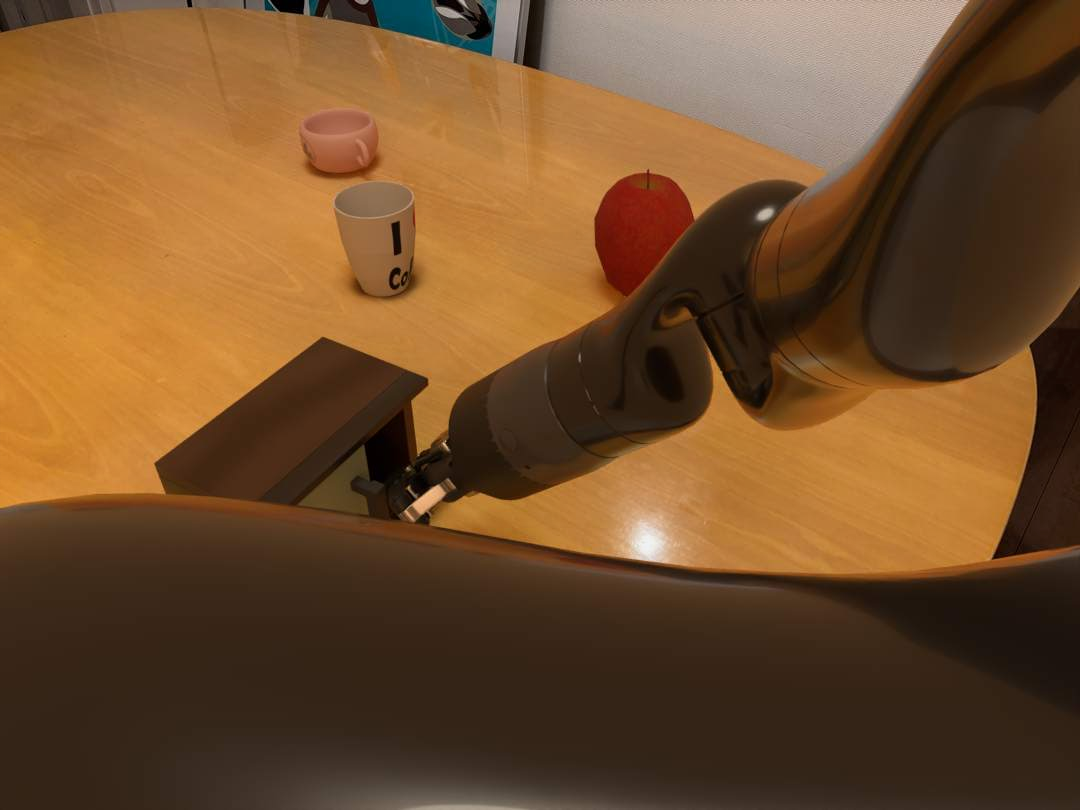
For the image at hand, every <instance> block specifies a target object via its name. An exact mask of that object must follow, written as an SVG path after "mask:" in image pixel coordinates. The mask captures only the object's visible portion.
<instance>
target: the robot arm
mask: <svg viewBox="0 0 1080 810" xmlns="http://www.w3.org/2000/svg"><path fill="white" fill-rule="evenodd" d="M1079 289H1080V0H968V1H967V2H966V4H965V5H964V6H963V8H962V9H960V11H959V13H958V14H957V15H956V17H954V19H953V21H952V22H951V23H950V25H949V26H948V27H947V29H946V31H945V32H944V33H943V35H942V36H941V37H940V39H939V40H938V42H937V43H936V45H934V47H933V48H932V50H931V51H930V52H929V54H928V56H927V57H926V58H925V60H924V61H923V62H922V64H921V65H920V67H919V68H918V70H917V71H916V73H915V74H914V76H913V78H912V80H911V81H910V82H909V84H908V85H907V87H906V88H905V89H904V91H903V92H902V94H901V95H900V97H898V100H897V101H896V103H895V104H894V105H893V107H892V108H891V110H890V111H889V113H888V114H887V115H886V117H885V118H884V120H883V121H882V123H880V125H879V126H878V128H877V129H876V130H875V131H874V133H873V134H872V135H871V136H870V137H869V138H868V139H867V140H866V141H865V142H864V143H863V144H862V145H861V147H859V148H858V149H857V150H856V151H855V152H854V153H853V154H852V155H851V156H850V157H848V158H847V159H846V160H845V161H843V162H841V163H840V164H839V165H837V166H836V167H834V168H833V169H832V170H831V171H828V172H827V173H826V174H825V175H823V177H821V178H819V179H818V180H816V181H815V182H814V183H813V184H811V185H810V186H808V185H807V184H805V183H802V182H800V181H795V180H790V179H784V178H768V179H759V180H758V181H757V180H756V181H752V182H750V183H746V184H744V185H742V186H739V187H737V188H734V189H733V190H731V191H729V192H728V193H726V194H724V195H723V196H721V197H720V198H718V199H717V200H716V201H714V202H713V203H711V204H710V205H709V206H708V207H707V208H705V210H703V211H702V212H701V213H700V214H699V215H698V216H697V218H695V221H694V222H693V223H692V224H691V225H690V226H689V227H688V228H687V229H686V230H685V231H684V232H683V233H682V234H681V236H680V237H679V238H678V239H677V240H676V242H675V243H674V244H673V245H672V246H671V248H670V249H669V250H668V251H667V253H666V254H665V255H664V256H663V258H662V259H661V260H660V261H659V263H658V264H657V265H656V266H655V268H654V269H653V270H652V271H651V272H650V274H649V275H648V276H647V277H646V278H645V279H644V280H643V282H642V283H641V284H640V285H639V286H638V287H637V288H636V289H635V290H634V291H633V292H632V293H631V294H630V295H629V296H628V297H625V298H624V299H623V300H621V301H620V302H619V303H618V304H617V305H615V306H613V307H612V308H610V310H608V311H606V312H604V313H602V314H601V315H599V316H598V317H596V318H595V319H592V320H591V321H589V322H587V323H586V324H584V325H582V326H580V327H578V328H576V329H575V330H572V331H571V332H569V333H568V334H566V335H565V336H562V337H559V338H557V339H554V340H551V341H548V342H545V343H543V344H540V345H539V346H536V347H534V348H533V349H531V350H529V351H527V352H525V353H523V354H522V355H520V356H519V357H517V358H515V359H513V360H512V361H510V362H508V363H507V364H505V365H503V366H501V367H499V368H498V369H496V370H495V371H492V372H491V373H489V374H487V375H486V376H484V377H483V378H480V379H479V380H477V381H475V382H473V383H472V384H470V385H469V386H468V387H466V388H465V389H464V390H463V391H462V392H461V393H460V394H459V395H458V396H457V398H456V399H455V401H454V402H453V405H452V407H451V410H450V412H449V413H450V414H449V417H448V418H449V419H448V429H446V430H445V431H443V432H441V433H440V434H439V435H438V436H437V437H436V438H435V439H434V441H432V442H431V443H430V447H429V448H426V449H424V450H422V451H421V452H419V453H418V457H417V458H416V459H415V460H414V461H413V462H411V463H409V464H407V465H405V466H403V467H401V468H399V469H397V470H395V471H394V472H393V473H392V474H391V475H390V476H389V477H388V478H386V479H385V480H384V481H383V482H382V484H384V485H385V490H386V497H387V499H388V500H389V506H390V507H391V508H392V510H393V511H394V512H395V513H396V514H397V515H398V517H399V518H400V519H401V520H402V521H401V520H395V519H389V518H383V517H377V516H371V515H365V514H359V513H353V512H347V511H340V510H332V509H324V508H315V507H307V506H299V505H291V504H282V503H274V502H266V501H258V500H249V499H239V498H223V497H207V496H191V495H174V494H166V493H158V492H157V493H155V492H128V493H127V492H125V493H121V492H119V493H118V492H117V493H93V494H92V493H91V494H85V495H77V496H69V497H68V496H67V497H61V498H51V499H44V500H36V501H28V502H22V503H17V504H11V505H8V506H3V507H0V810H1080V543H1077V544H1073V545H1069V546H1062V547H1058V548H1052V549H1051V548H1050V549H1046V550H1045V549H1044V550H1040V551H1036V552H1035V551H1034V552H1028V553H1024V554H1023V553H1021V554H1017V555H1012V556H1005V557H999V558H994V559H988V560H984V561H978V562H972V563H965V564H959V565H957V564H956V565H950V566H943V567H935V568H926V569H919V570H902V571H901V570H899V571H898V570H897V571H896V570H895V571H878V572H855V573H817V572H792V571H791V572H790V571H789V572H788V571H765V570H749V569H735V568H733V569H732V568H718V567H716V568H715V567H701V566H688V565H681V564H673V563H666V562H657V561H652V560H651V561H650V560H643V559H636V558H635V559H634V558H628V557H619V556H613V555H605V554H599V553H598V554H597V553H590V552H583V551H577V550H571V549H565V548H560V547H555V546H550V545H543V544H538V543H532V542H527V541H526V542H525V541H520V540H515V539H508V538H504V537H498V536H491V535H486V534H482V533H476V532H475V533H474V532H470V531H464V530H459V529H452V528H447V527H442V526H437V525H436V526H435V525H430V524H431V520H430V519H432V518H433V517H434V516H435V512H434V510H433V508H434V507H435V506H436V505H437V504H438V503H439V502H443V503H446V504H452V503H456V502H457V501H459V500H461V499H462V498H464V497H466V498H471V497H472V498H473V497H474V496H477V495H479V494H481V495H482V494H483V495H485V496H488V497H491V498H494V499H497V500H502V501H518V500H522V499H525V498H528V497H531V496H533V495H536V494H538V493H541V492H544V491H546V490H549V489H552V488H554V487H557V486H559V485H562V484H565V483H567V482H570V481H572V480H575V479H578V478H580V477H584V476H586V475H588V474H592V473H593V472H596V471H597V470H600V469H602V468H603V467H605V466H607V465H609V464H611V463H612V462H614V461H615V460H617V459H618V458H620V457H623V456H625V455H627V454H630V453H633V452H635V451H638V450H640V449H643V448H645V447H648V446H650V445H651V446H652V445H653V444H656V443H659V442H662V441H664V440H667V439H669V438H672V437H674V436H677V435H679V434H682V433H683V432H685V431H687V430H688V429H690V428H691V427H693V426H695V425H696V424H697V423H698V422H700V421H701V419H702V418H703V417H704V416H705V415H706V413H707V412H708V410H709V407H710V405H711V404H712V398H713V394H714V371H713V366H712V361H711V356H712V358H713V360H714V361H715V363H716V366H717V367H718V369H719V371H720V372H721V375H722V377H723V379H724V381H725V383H726V386H727V387H728V389H729V391H730V392H731V395H732V396H733V397H734V400H735V401H736V402H737V404H738V405H739V406H740V408H741V409H742V410H743V411H744V412H745V413H746V414H747V416H748V417H749V418H751V420H753V421H754V422H756V423H757V424H759V425H761V426H762V427H764V428H767V429H769V430H772V431H773V430H774V431H778V432H779V431H781V432H791V431H801V430H805V429H809V428H814V427H816V426H819V425H822V424H825V423H827V422H830V421H832V420H834V419H836V418H838V417H841V416H842V415H844V414H846V413H847V412H849V411H850V410H852V409H853V408H855V407H856V406H858V405H860V404H861V403H862V402H864V401H866V400H867V399H868V398H869V397H870V396H872V395H874V394H875V393H876V392H877V391H878V390H897V391H899V390H900V391H901V390H922V389H929V388H936V387H940V386H947V385H953V384H958V383H961V382H963V381H966V380H969V379H971V378H974V377H976V376H980V375H983V374H985V373H987V372H989V371H991V370H994V369H996V368H998V367H999V366H1001V365H1002V364H1004V363H1005V362H1007V361H1009V360H1010V359H1012V358H1013V357H1015V356H1016V355H1018V354H1020V353H1021V352H1022V351H1024V350H1025V349H1027V348H1028V347H1029V346H1030V345H1032V344H1033V342H1035V341H1036V339H1038V338H1039V336H1041V335H1042V333H1044V332H1045V331H1046V330H1047V329H1048V328H1049V327H1050V326H1051V325H1052V324H1053V323H1054V322H1055V321H1056V320H1057V318H1059V316H1060V315H1061V314H1062V312H1063V311H1064V309H1065V308H1066V307H1067V306H1068V304H1069V302H1070V301H1071V300H1072V298H1074V296H1075V294H1076V293H1077V291H1078V290H1079ZM710 354H711V356H710ZM435 504H436V505H435ZM434 505H435V506H434ZM433 506H434V507H433ZM432 507H433V508H432ZM431 508H432V509H431Z"/></svg>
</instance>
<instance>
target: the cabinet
mask: <svg viewBox="0 0 1080 810" xmlns="http://www.w3.org/2000/svg"><path fill="white" fill-rule="evenodd" d="M428 387H429V377H427V376H424V375H421V374H419V373H416V372H414V371H411V370H408V369H406V368H404V367H401V366H399V365H396V364H394V363H391V362H389V361H386V360H384V359H381V358H378V357H376V356H374V355H371V354H368V353H365V352H364V351H361V350H358V349H356V348H353V347H350V346H348V345H346V344H343V343H341V342H337V341H335V340H333V339H330V338H328V337H325V336H321V337H320V338H319V339H317V340H316V341H315V342H313V343H312V344H311V345H310V346H308V347H307V348H305V349H304V350H303V351H302V352H300V353H299V354H297V355H296V356H294V357H293V358H292V359H291V360H289V361H288V362H286V363H285V364H284V365H283V366H282V367H280V368H279V369H278V370H276V371H275V372H273V373H272V374H271V375H269V376H268V377H267V378H265V379H264V380H263V381H261V382H260V383H259V384H258V385H256V386H255V387H253V388H252V389H251V390H249V391H248V392H247V393H245V394H244V395H242V397H240V398H239V399H238V400H236V401H234V402H233V403H232V404H231V405H230V406H228V407H226V408H225V409H224V410H223V411H221V412H220V413H219V414H217V415H216V416H215V417H213V418H212V419H211V420H209V421H208V422H207V423H205V424H204V425H203V426H201V427H200V428H199V429H197V430H196V431H195V432H193V433H192V434H190V436H188V437H187V438H185V439H184V440H183V441H182V442H180V443H179V444H178V445H176V446H175V447H173V448H172V449H171V450H169V451H167V453H166V454H164V455H163V456H161V457H160V458H159V459H157V460H156V461H155V462H154V463H153V465H154V467H155V470H156V472H157V475H158V478H159V481H160V482H161V486H162V488H163V491H164V494H174V495H191V496H207V497H223V498H239V499H249V500H258V501H266V502H274V503H282V504H291V505H298V504H299V503H300V502H301V501H302V500H303V499H304V498H305V497H306V496H307V495H309V494H310V493H311V492H312V491H313V490H314V489H315V488H316V487H317V486H318V485H320V484H321V483H322V482H323V481H324V480H325V479H326V478H327V477H328V476H329V475H331V474H332V473H333V472H334V471H335V470H336V469H337V468H338V467H339V466H340V465H342V464H343V463H344V462H345V461H346V460H347V459H348V458H349V457H350V456H351V455H353V454H354V453H355V452H356V451H357V450H358V449H359V448H360V447H361V446H362V445H363V444H364V448H365V454H366V460H367V465H368V471H369V477H370V482H372V481H373V480H375V481H377V482H379V483H382V482H383V481H384V480H385V479H386V478H388V477H389V476H390V475H391V474H392V473H393V472H394V471H395V470H397V469H399V468H401V467H403V466H405V465H407V464H409V463H411V462H413V461H414V460H415V459H416V458H417V457H418V456H419V453H418V445H417V436H416V429H415V421H414V412H413V411H414V410H413V404H412V403H413V402H412V401H413V400H414V399H415V398H416V397H417V396H419V395H420V394H421V393H422V392H423V391H424V390H425V389H426V388H428ZM387 503H388V509H389V516H390V519H395V520H401V519H400V518H399V517H398V515H397V514H396V513H395V512H394V511H393V510H392V508H391V507H390V506H389V500H388V499H387ZM436 505H437V503H436V504H435V505H434V506H433V507H432V508H431V509H432V510H433V508H434V507H435V506H436ZM401 521H402V520H401Z"/></svg>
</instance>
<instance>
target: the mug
mask: <svg viewBox="0 0 1080 810" xmlns="http://www.w3.org/2000/svg"><path fill="white" fill-rule="evenodd" d="M298 128H299V130H298V131H299V132H298V133H299V140H300V144H301V148H302V151H303V153H304V154H305V156H306V157H307V159H308V160H309V162H310V164H311V165H313V166H314V167H315V168H316V169H317V170H320V171H322V172H326V173H331V174H332V173H333V174H345V173H352V172H353V173H354V172H356V171H360V170H362V169H364V168H367V167H368V166H369V165H370V164H371V163H372V161H373V160H374V158H375V156H376V153H377V149H378V146H379V131H378V126H377V123H376V120H375V118H374V117H373V116H372V115H371V114H370V113H369V112H367V111H366V110H362V109H359V108H354V107H331V108H326V109H325V108H324V109H320V110H318V111H315V112H312V113H310V114H308V115H307V116H305V117H304V118H303V119H302V120H301V122H300V124H299V127H298Z"/></svg>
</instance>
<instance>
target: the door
mask: <svg viewBox="0 0 1080 810" xmlns="http://www.w3.org/2000/svg"><path fill="white" fill-rule="evenodd" d="M298 505H299V506H307V507H315V508H324V509H332V510H340V511H347V512H353V513H359V514H365V515H371V516H377V517H383V518H389V519H390V516H389V509H388V503H387V497H386V490H385V485H384V484H382V483H379V482H377V481H375V480H373V481H372V482H370V477H369V471H368V465H367V460H366V454H365V448H364V444H363V445H362V446H361V447H360V448H359V449H358V450H357V451H356V452H355V453H354V454H353V455H351V456H350V457H349V458H348V459H347V460H346V461H345V462H344V463H343V464H342V465H340V466H339V467H338V468H337V469H336V470H335V471H334V472H333V473H332V474H331V475H329V476H328V477H327V478H326V479H325V480H324V481H323V482H322V483H321V484H320V485H318V486H317V487H316V488H315V489H314V490H313V491H312V492H311V493H310V494H309V495H307V496H306V497H305V498H304V499H303V500H302V501H301V502H300V503H299V504H298Z"/></svg>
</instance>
